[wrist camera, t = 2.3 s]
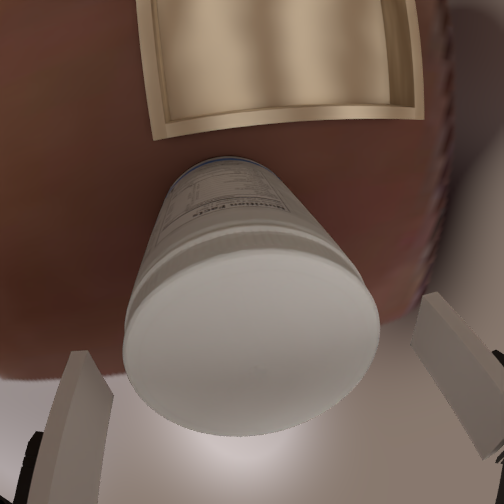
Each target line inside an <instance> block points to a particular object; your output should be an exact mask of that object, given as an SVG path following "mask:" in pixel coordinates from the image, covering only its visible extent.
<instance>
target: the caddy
mask: <svg viewBox="0 0 504 504" xmlns="http://www.w3.org/2000/svg"><path fill="white" fill-rule="evenodd" d="M136 6H137V18H138V29H139V39H140V49H141V58H142V66H143V74H144V82H145V89H146V96H147V103H148V110H149V117H150V123H151V129H152V135H153V141H155V140H160V139H165V138H170V137H176V136H182V135H187V134H193V133H200V132H206V131H213V130H220V129H227V128H235V127H243V126H252V125H262V124H272V123H283V122H296V121H312V120H332V119H417V120H424V89H423V69H422V56H421V45H420V35H419V27H418V19H417V12H416V5H415V0H136Z"/></svg>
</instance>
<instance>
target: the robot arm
mask: <svg viewBox="0 0 504 504" xmlns="http://www.w3.org/2000/svg"><path fill="white" fill-rule="evenodd" d="M410 345H411V347H412V348H413V350H414V351H415V353H416V354H417V356H418V357H419V359H420V360H421V362H422V363H423V364H424V366H425V367H426V369H427V371H428V372H429V374H430V375H431V377H432V378H433V380H434V381H435V382H436V384H437V386H438V387H439V389H440V390H441V392H442V394H443V395H444V396H445V398H446V400H447V401H448V403H449V405H450V406H451V408H452V409H453V411H454V413H455V414H456V416H457V417H458V419H459V421H460V422H461V424H462V426H463V427H464V429H465V431H466V432H467V434H468V436H469V437H470V439H471V441H472V443H473V444H474V446H475V448H476V449H477V451H478V453H479V455H480V457H481V458H482V460H485V459H487V458H488V457H490V456H491V455H493V454H494V453H496V452H497V451H498V450H499V449H500V448H501V447H502V446H503V445H504V354H502V353H501V352H499V351H497V350H494V351H492V352H491V351H490V350H489V349H488V348H487V346H486V345H485V344H484V343H483V342H482V340H481V339H480V338H479V337H478V336H477V335H476V334H475V332H474V331H473V330H472V329H471V328H470V327H469V326H468V325H467V323H466V322H465V321H464V320H463V319H462V318H461V317H460V316H459V315H458V313H457V312H456V311H455V310H454V309H453V308H452V307H451V306H450V305H449V304H448V303H447V302H446V301H445V299H444V298H443V297H442V296H441V295H440V294H439V293H438V292H434V293H430V294H427V295H423V296H422V301H421V305H420V310H419V313H418V317H417V321H416V325H415V329H414V333H413V336H412V340H411V343H410ZM113 397H114V395H113V393H112V391H111V390H110V388H109V387H108V385H107V383H106V381H105V380H104V378H103V376H102V375H101V373H100V371H99V370H98V368H97V366H96V364H95V362H94V361H93V359H92V357H91V355H90V353H89V352H88V350H84V351H71V354H70V356H69V359H68V362H67V364H66V367H65V370H64V372H63V375H62V378H61V381H60V384H59V387H58V389H57V392H56V395H55V398H54V401H53V405H52V408H51V411H50V414H49V417H48V420H47V424H46V427H45V430H44V432H38V431H36V432H35V434H34V435H33V437H32V438H31V439H30V441H29V442H28V445H27V449H26V452H25V457H24V460H23V467H22V468H21V471H20V475H19V480H18V484H17V489H16V493H15V498H14V501H13V504H97V503H98V495H99V486H100V477H101V470H102V461H103V455H104V449H105V442H106V436H107V429H108V424H109V419H110V413H111V408H112V403H113ZM503 457H504V451H503V452H502V453H501V454H500V455H499V456H498V457H497V460H496V462H495V463H498V462H499V461H500V460H501V459H502V458H503ZM501 464H503V468H502V473H501V479H500V484H499V489H498V494H497V499H496V503H495V504H504V459H503V461H502V462H501ZM0 504H12V503H11V502H9V501H8V500H6V499H5V498H3V497H2V496H1V495H0Z"/></svg>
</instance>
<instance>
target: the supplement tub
mask: <svg viewBox="0 0 504 504" xmlns="http://www.w3.org/2000/svg"><path fill="white" fill-rule="evenodd" d="M124 327H125V335H124V341H123V362H124V367H125V370H126V373H127V376H128V379H129V381H130V383H131V384H132V386H133V388H134V389H135V391H136V393H137V394H138V395H139V396H140V397H141V398H142V400H143V401H144V402H145V403H146V404H147V405H148V406H149V407H150V408H152V409H153V410H154V411H155V412H157V413H158V414H160V415H161V416H163V417H164V418H166V419H167V420H170V421H172V422H173V423H176V424H178V425H180V426H182V427H185V428H188V429H191V430H194V431H197V432H201V433H206V434H212V435H219V436H237V437H238V436H239V437H242V436H255V435H263V434H268V433H274V432H278V431H282V430H285V429H288V428H291V427H294V426H297V425H300V424H302V423H305V422H307V421H309V420H311V419H313V418H315V417H317V416H319V415H321V414H322V413H324V412H326V411H327V410H328V409H330V408H332V407H333V406H335V405H336V404H337V403H338V402H340V401H341V400H342V399H343V398H345V397H346V396H347V395H348V394H349V393H350V392H351V391H352V390H353V389H354V388H355V386H356V385H357V384H358V383H359V382H360V381H361V379H362V378H363V377H364V375H365V373H366V372H367V370H368V368H369V367H370V365H371V363H372V361H373V358H374V356H375V354H376V350H377V347H378V342H379V336H380V321H379V314H378V310H377V307H376V304H375V302H374V299H373V297H372V296H371V294H370V292H369V291H368V289H367V288H366V286H365V284H364V282H363V280H362V277H361V275H360V274H359V272H358V270H357V269H356V267H355V266H354V265H353V263H352V262H351V261H350V260H349V258H348V257H347V256H346V254H345V253H344V252H343V251H342V250H341V249H340V247H339V246H338V245H337V244H336V242H335V241H334V240H333V239H332V238H331V236H330V235H329V234H328V233H327V232H326V231H325V230H324V228H323V227H322V226H321V225H320V224H319V223H318V221H317V220H316V219H315V218H314V217H313V216H312V215H311V214H310V212H309V211H308V210H307V209H306V208H305V207H304V206H303V204H302V203H301V202H300V201H299V200H298V199H297V198H296V197H295V195H294V194H293V193H292V192H291V191H290V190H289V189H288V188H287V187H286V185H285V184H284V183H283V182H282V181H281V180H280V179H279V178H278V177H277V176H276V175H275V174H274V173H273V172H272V171H271V170H269V169H268V168H266V167H265V166H263V165H261V164H259V163H257V162H255V161H252V160H249V159H246V158H242V157H233V156H223V157H216V158H212V159H208V160H205V161H202V162H200V163H198V164H196V165H194V166H193V167H191V168H190V169H188V170H187V171H186V172H184V173H183V174H182V175H181V176H180V177H179V178H178V179H177V180H176V181H175V182H174V184H173V185H172V186H171V188H170V190H169V192H168V194H167V196H166V198H165V200H164V202H163V205H162V207H161V210H160V212H159V215H158V218H157V220H156V223H155V226H154V228H153V231H152V234H151V237H150V239H149V242H148V245H147V248H146V251H145V254H144V257H143V260H142V263H141V266H140V269H139V272H138V275H137V278H136V281H135V284H134V287H133V291H132V294H131V297H130V301H129V304H128V307H127V312H126V317H125V326H124Z"/></svg>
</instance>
